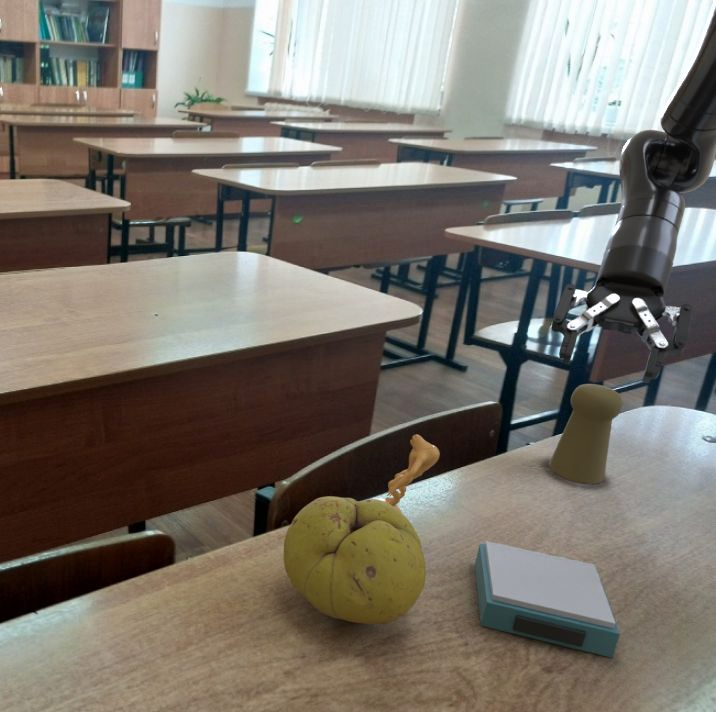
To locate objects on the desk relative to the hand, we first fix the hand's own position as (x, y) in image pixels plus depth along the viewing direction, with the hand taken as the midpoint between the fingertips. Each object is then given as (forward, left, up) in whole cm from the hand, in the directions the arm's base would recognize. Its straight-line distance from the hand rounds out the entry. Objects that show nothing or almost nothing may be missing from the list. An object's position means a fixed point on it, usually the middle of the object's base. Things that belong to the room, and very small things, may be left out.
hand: (605, 370), depth 88 cm
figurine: (+22, +28, -12) cm, 38 cm away
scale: (+9, +34, -12) cm, 37 cm away
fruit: (+25, +40, -12) cm, 49 cm away
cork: (+1, +4, -12) cm, 13 cm away
